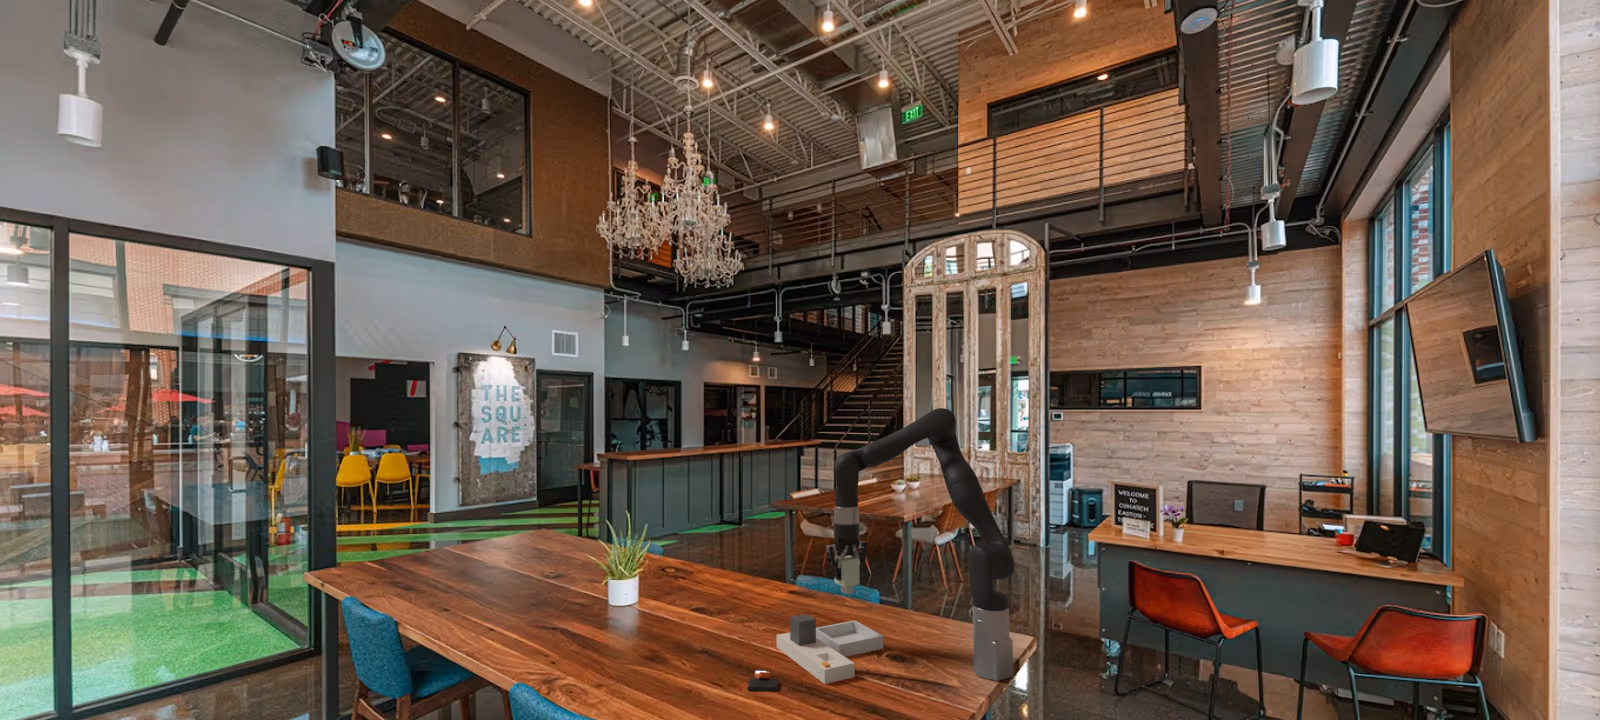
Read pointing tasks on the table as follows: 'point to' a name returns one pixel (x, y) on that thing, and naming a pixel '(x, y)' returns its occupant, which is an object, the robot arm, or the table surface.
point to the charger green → (849, 574)
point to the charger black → (802, 629)
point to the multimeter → (762, 682)
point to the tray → (850, 638)
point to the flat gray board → (817, 659)
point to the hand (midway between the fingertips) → (847, 578)
